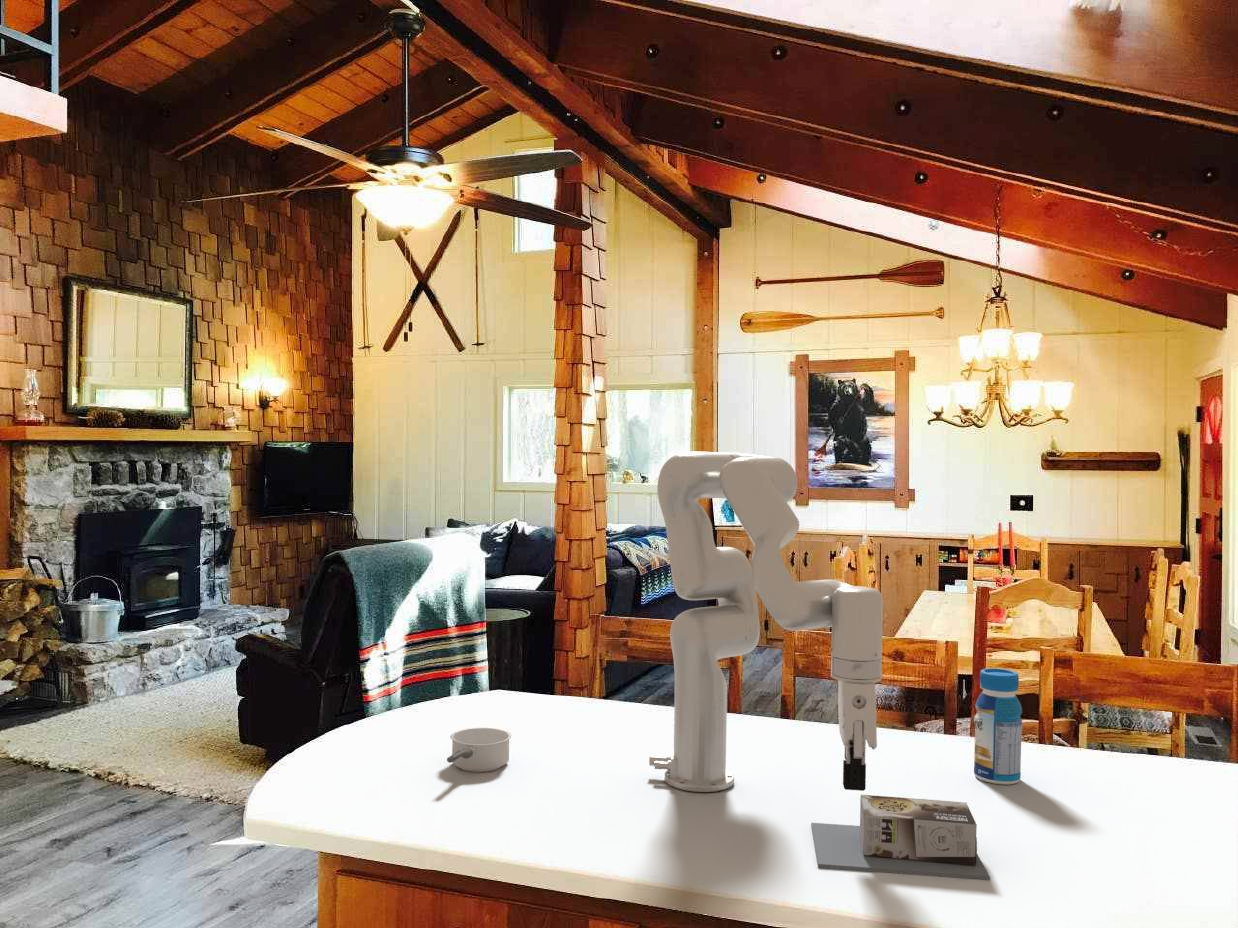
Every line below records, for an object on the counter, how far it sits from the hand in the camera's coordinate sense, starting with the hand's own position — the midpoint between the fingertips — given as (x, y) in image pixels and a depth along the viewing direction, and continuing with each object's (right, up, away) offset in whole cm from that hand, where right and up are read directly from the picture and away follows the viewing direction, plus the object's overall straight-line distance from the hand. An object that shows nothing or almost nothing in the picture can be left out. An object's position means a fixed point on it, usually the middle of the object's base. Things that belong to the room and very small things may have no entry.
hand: (854, 787), depth 149 cm
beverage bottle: (+35, -10, +34) cm, 49 cm away
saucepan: (-63, -8, +33) cm, 72 cm away
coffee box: (+1, -6, 0) cm, 6 cm away
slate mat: (+6, -9, -1) cm, 11 cm away
